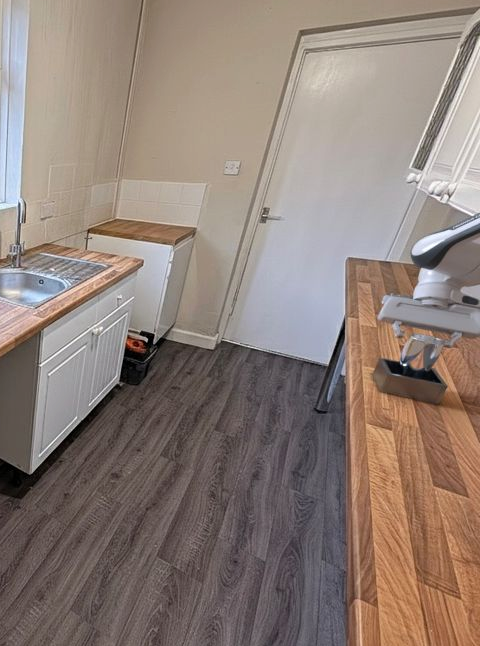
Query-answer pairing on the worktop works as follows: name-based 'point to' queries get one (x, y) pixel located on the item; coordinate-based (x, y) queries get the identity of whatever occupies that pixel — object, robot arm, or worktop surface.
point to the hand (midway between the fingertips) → (422, 342)
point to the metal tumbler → (419, 355)
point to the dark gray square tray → (408, 383)
